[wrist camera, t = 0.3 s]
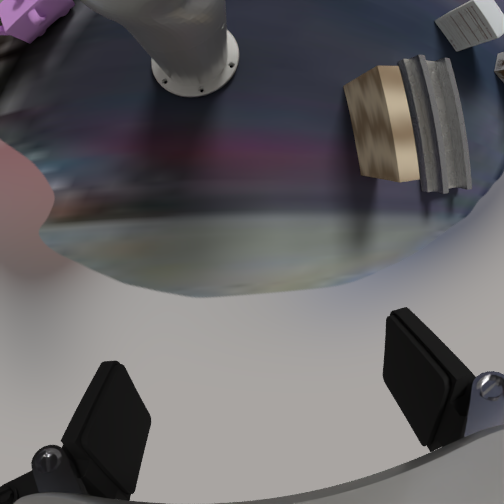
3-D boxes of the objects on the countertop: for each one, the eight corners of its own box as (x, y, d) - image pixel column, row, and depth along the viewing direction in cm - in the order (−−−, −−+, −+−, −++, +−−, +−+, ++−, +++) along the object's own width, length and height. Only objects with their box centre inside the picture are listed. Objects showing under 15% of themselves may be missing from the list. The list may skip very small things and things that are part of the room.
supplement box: (450, 11, 34) (489, -8, 22) (472, 41, 36) (513, 28, 23) (432, 20, 35) (472, -1, 23) (455, 53, 37) (499, 38, 25)
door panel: (343, 86, 39) (377, 65, 28) (360, 85, 39) (398, 66, 27) (360, 175, 43) (399, 182, 32) (377, 172, 43) (419, 179, 32)
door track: (397, 61, 38) (412, 54, 33) (437, 64, 38) (454, 58, 33) (421, 190, 44) (438, 194, 39) (458, 184, 44) (476, 188, 39)
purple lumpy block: (58, 50, 34) (23, 32, 23) (10, 51, 32) (-25, 38, 21) (95, -21, 30) (70, -49, 19) (43, -16, 28) (16, -36, 17)
